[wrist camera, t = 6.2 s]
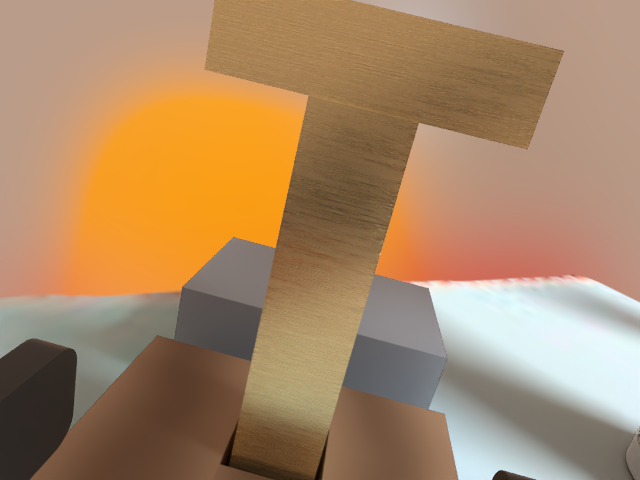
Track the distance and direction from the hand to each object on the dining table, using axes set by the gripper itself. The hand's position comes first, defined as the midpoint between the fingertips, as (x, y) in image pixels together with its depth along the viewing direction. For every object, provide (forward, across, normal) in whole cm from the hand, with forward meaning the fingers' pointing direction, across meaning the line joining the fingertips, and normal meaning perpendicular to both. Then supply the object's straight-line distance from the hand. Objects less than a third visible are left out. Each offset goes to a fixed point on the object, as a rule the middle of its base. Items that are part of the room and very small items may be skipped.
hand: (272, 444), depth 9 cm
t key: (+7, 0, +10) cm, 12 cm away
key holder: (+19, 0, +11) cm, 22 cm away
